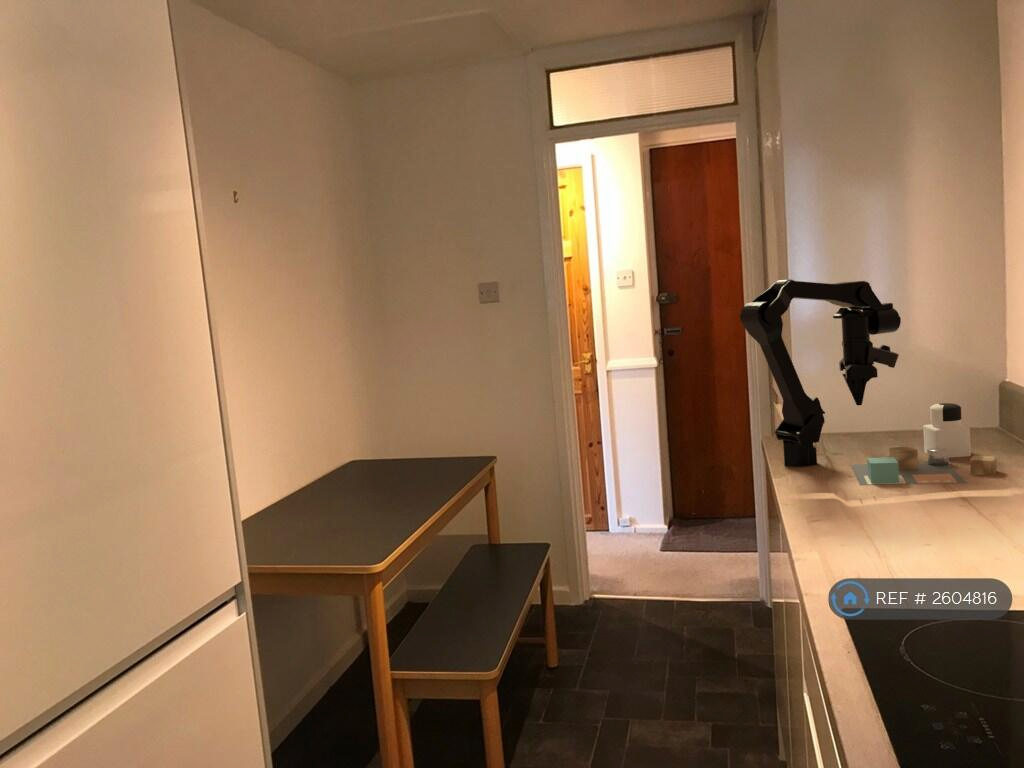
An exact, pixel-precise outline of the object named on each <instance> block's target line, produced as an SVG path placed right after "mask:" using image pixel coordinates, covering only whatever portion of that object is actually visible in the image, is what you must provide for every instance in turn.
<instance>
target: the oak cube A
mask: <svg viewBox="0 0 1024 768" xmlns="http://www.w3.org/2000/svg"><path fill="white" fill-rule="evenodd" d="M888 451H889V457H894V458H895V459H896V461H897V462H898V470H899V471H900V470H911V469H918V463H919V459H918V458H919V456H918V451H919V450H918V449H916V448H914V447H912V446H911V447H910V446H909V445H907V446H897V447H896V446H895V447H889V450H888Z"/></svg>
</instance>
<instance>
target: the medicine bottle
mask: <svg viewBox="0 0 1024 768" xmlns="http://www.w3.org/2000/svg"><path fill="white" fill-rule="evenodd" d="M929 417H930V424H924V425H922V426H923V428H922V429H923V452H924V453H925V454H927V449H930V448H946V449H948V450H949V459H950V458H963V457H964V458H965V457H972V456H971V455H972V454H971V453H972V452H971V451H972V450H971V449H972V447H971V428H970V427H968V426H965V425H963V424H962V420H963V419H962V406H960V405H959V404H957V403H954V402H953V403H951V402H945V403H943V402H942V403H941V402H940V403H934V404H933V405H931V406H930V407H929Z"/></svg>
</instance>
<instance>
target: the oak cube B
mask: <svg viewBox="0 0 1024 768" xmlns="http://www.w3.org/2000/svg"><path fill="white" fill-rule="evenodd" d="M997 470H998V469H997V456H992V455H991V456H988V455H972V456H971V458H970V475H974V476H975V475H976V476H991V477H992V476H993V477H994V476H995V474H996V472H997Z"/></svg>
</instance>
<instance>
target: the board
mask: <svg viewBox="0 0 1024 768" xmlns="http://www.w3.org/2000/svg"><path fill="white" fill-rule="evenodd" d="M850 467H851V469H852V471H853V473H854V475H855V477H856V480H857V482H858V484H859V486H888V485H889V486H890V485H891V486H892V485H893V486H894V485H895V486H896V485H898V486H899V485H900V486H901V485H938V484H939V485H940V484H944V485H946V484H949V485H950V484H968V482H967V481H966V479H964V478H963V477H962V476H961V474H959V473H958V472H957V470H956V469H955V468H954V467H953V466H952V465H951V464H950V463H949V465H945V466H932V465H928V461H927V462H918V469H911V470H900V471H899V470H898V472H899V483H871V482H870V480H869V478H868V465H867V463H862V464H861V463H860V464H858V463H857V464H856V463H855V464H854V463H853V464H850Z"/></svg>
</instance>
